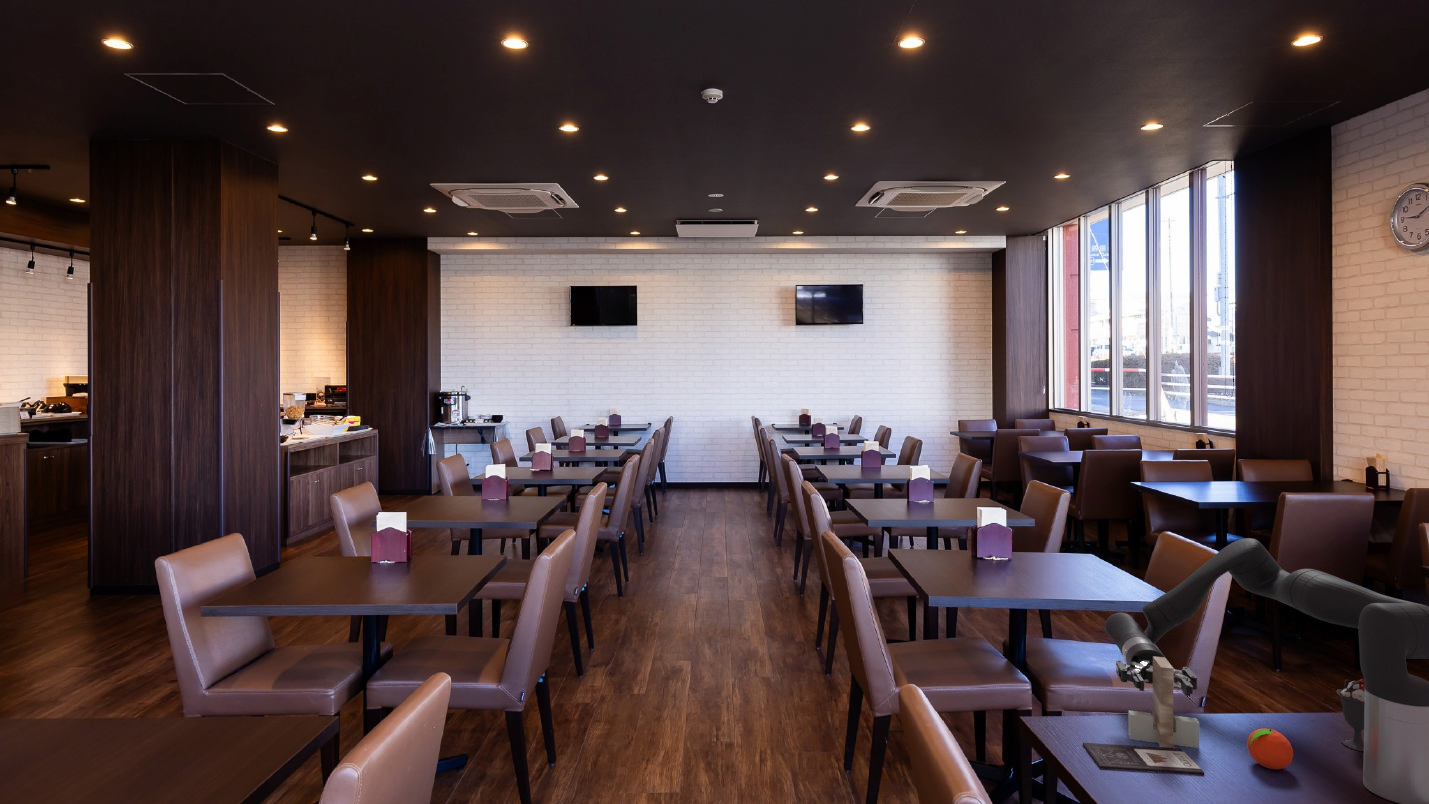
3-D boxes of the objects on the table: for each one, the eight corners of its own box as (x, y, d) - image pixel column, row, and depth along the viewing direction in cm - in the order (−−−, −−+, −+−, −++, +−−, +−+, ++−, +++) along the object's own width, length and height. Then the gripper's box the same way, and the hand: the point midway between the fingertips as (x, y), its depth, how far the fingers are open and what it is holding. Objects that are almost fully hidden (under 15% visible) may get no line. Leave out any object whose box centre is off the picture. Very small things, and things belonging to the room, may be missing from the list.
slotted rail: (1195, 742, 147) (1195, 718, 147) (1199, 748, 145) (1199, 723, 144) (1128, 734, 150) (1128, 710, 150) (1130, 739, 148) (1130, 714, 148)
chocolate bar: (1082, 742, 146) (1180, 748, 144) (1082, 747, 146) (1180, 753, 144) (1100, 766, 137) (1204, 772, 135) (1100, 771, 137) (1204, 777, 135)
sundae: (1377, 758, 140) (1379, 680, 140) (1332, 745, 145) (1333, 670, 145) (1383, 747, 145) (1384, 671, 144) (1339, 734, 150) (1340, 662, 149)
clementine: (1266, 779, 133) (1267, 740, 133) (1232, 760, 140) (1233, 723, 140) (1303, 774, 135) (1303, 736, 135) (1267, 755, 142) (1268, 719, 141)
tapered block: (1163, 733, 150) (1164, 656, 150) (1173, 750, 144) (1174, 669, 143) (1151, 732, 151) (1152, 655, 151) (1160, 748, 145) (1161, 668, 144)
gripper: (1181, 680, 160) (1206, 712, 144) (1108, 672, 164) (1124, 702, 148) (1181, 645, 159) (1206, 674, 144) (1108, 639, 164) (1124, 666, 148)
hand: (1165, 688), depth 146 cm, fingers open, 7 cm apart
